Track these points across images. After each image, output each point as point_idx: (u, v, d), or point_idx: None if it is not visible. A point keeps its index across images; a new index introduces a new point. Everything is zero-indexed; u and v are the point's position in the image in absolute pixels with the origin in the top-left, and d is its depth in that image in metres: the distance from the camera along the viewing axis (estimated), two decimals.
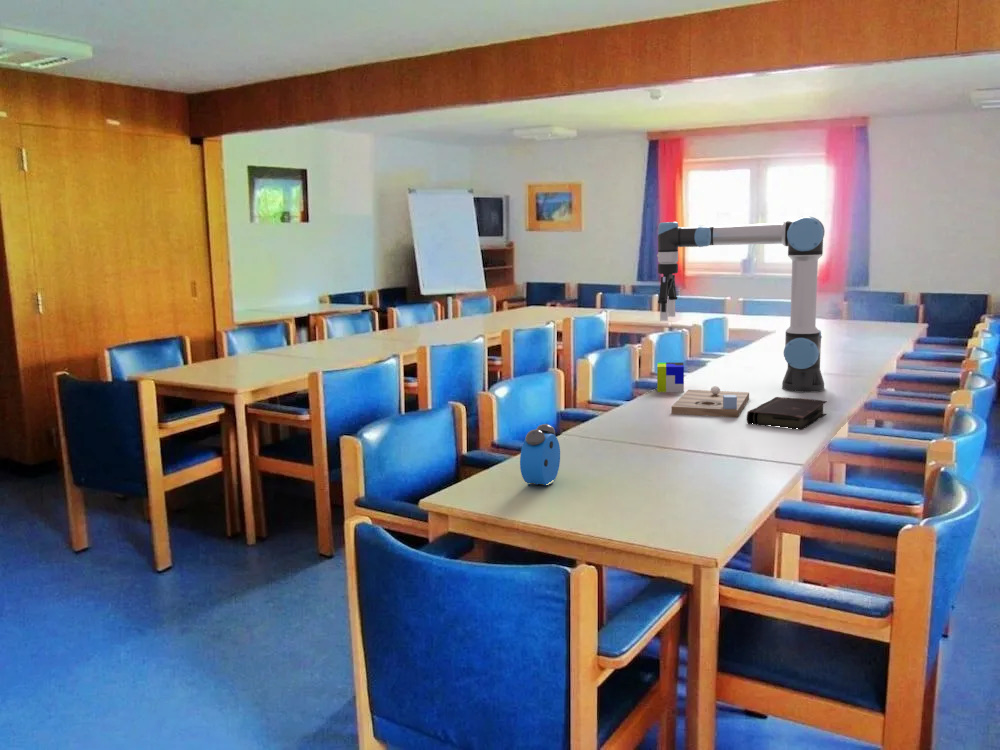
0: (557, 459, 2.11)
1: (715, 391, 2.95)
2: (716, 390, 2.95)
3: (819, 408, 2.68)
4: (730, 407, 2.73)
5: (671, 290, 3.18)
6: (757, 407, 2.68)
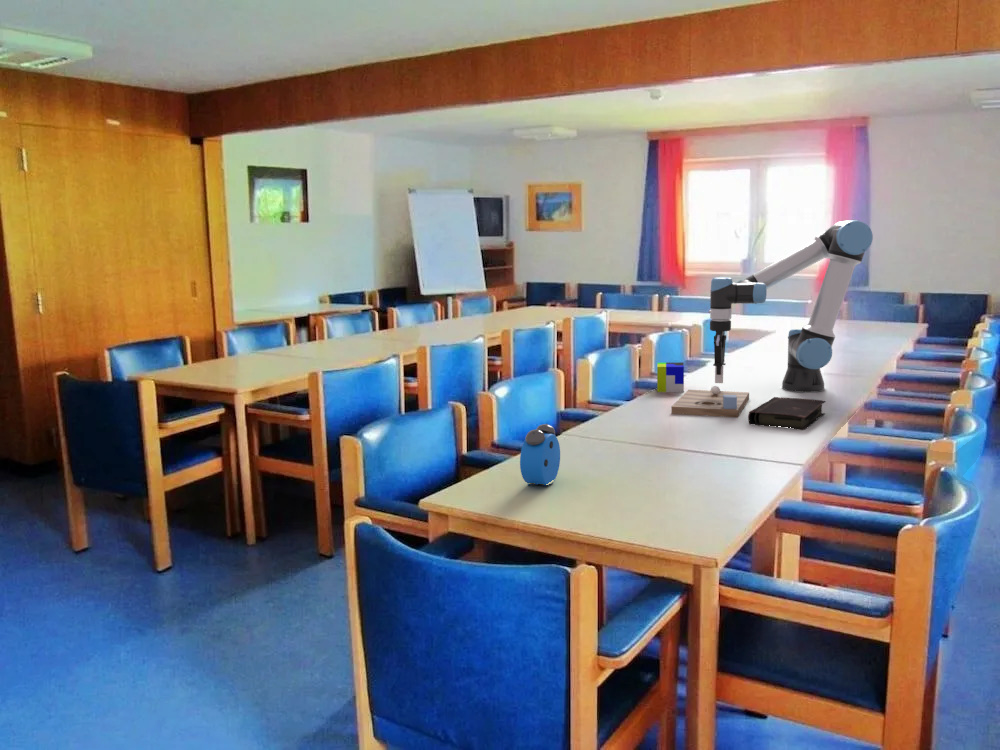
0: (557, 459, 2.11)
1: (715, 391, 2.95)
2: (716, 390, 2.95)
3: (818, 408, 2.69)
4: (730, 407, 2.73)
5: None
6: (757, 407, 2.67)
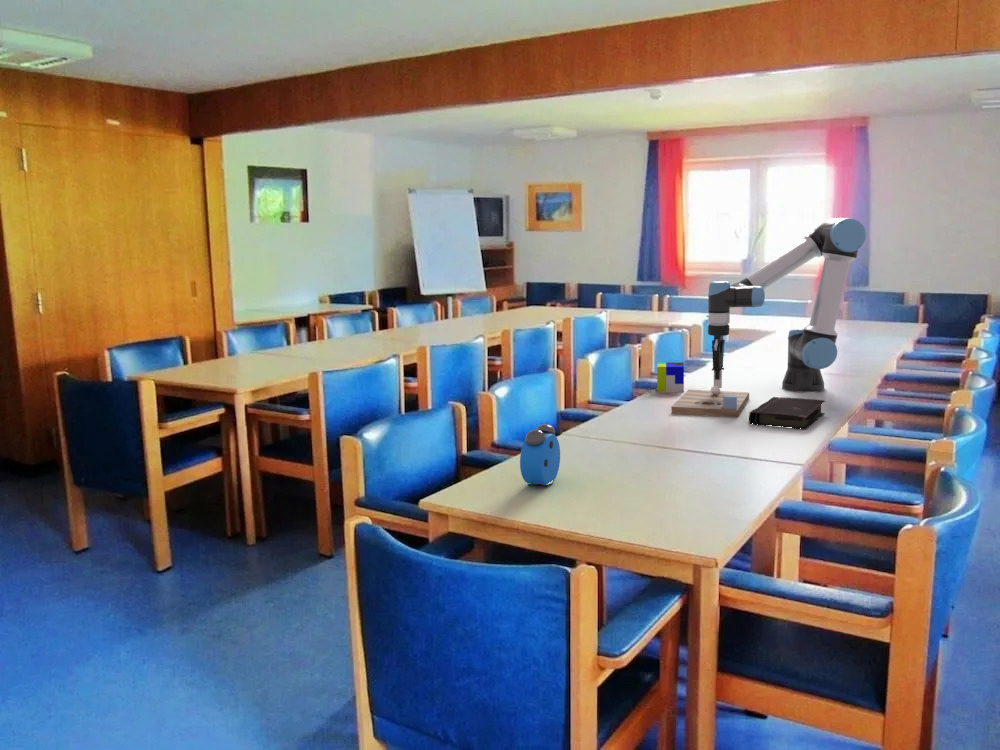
0: (557, 459, 2.11)
1: (715, 391, 2.95)
2: (716, 390, 2.95)
3: (818, 407, 2.69)
4: (730, 407, 2.73)
5: None
6: (758, 407, 2.67)
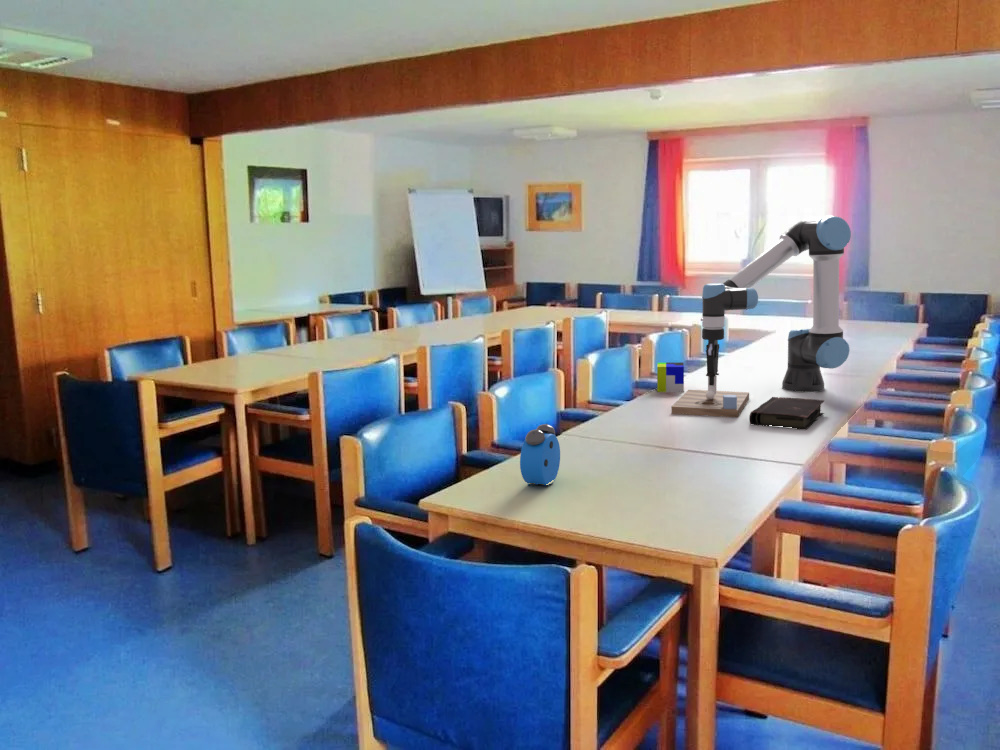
0: (557, 459, 2.11)
1: (710, 392, 2.87)
2: (711, 392, 2.87)
3: (818, 407, 2.69)
4: (730, 407, 2.73)
5: None
6: (758, 407, 2.67)
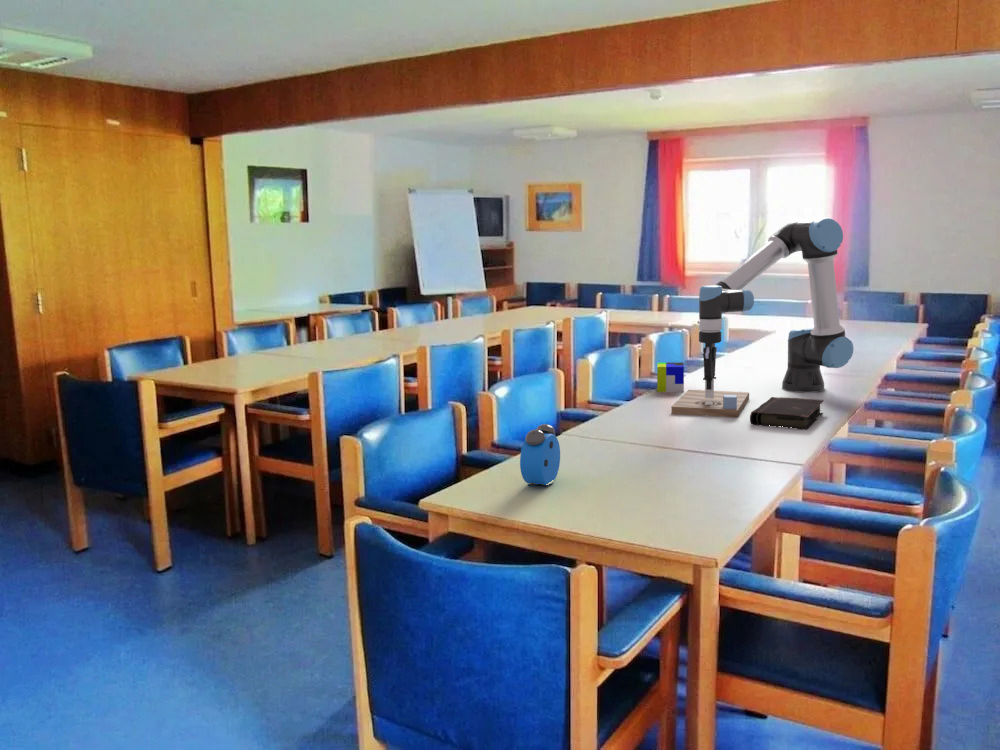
0: (557, 459, 2.11)
1: None
2: None
3: (817, 407, 2.70)
4: (730, 407, 2.73)
5: None
6: (758, 407, 2.67)
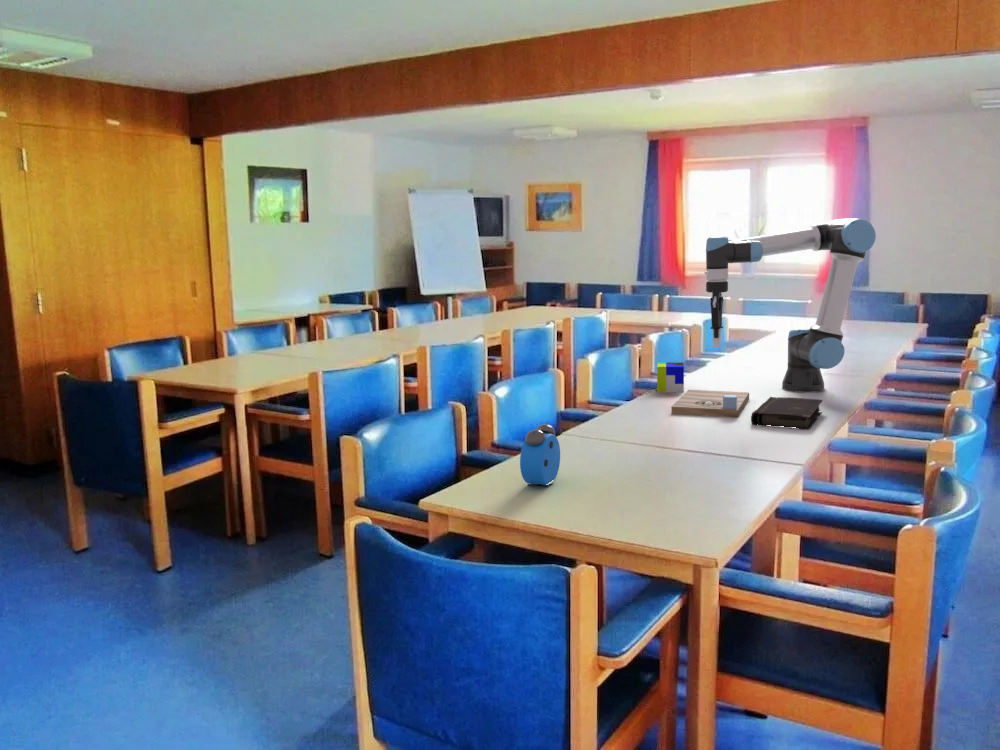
0: (557, 459, 2.11)
1: None
2: None
3: (817, 407, 2.70)
4: (730, 407, 2.73)
5: None
6: (759, 408, 2.67)
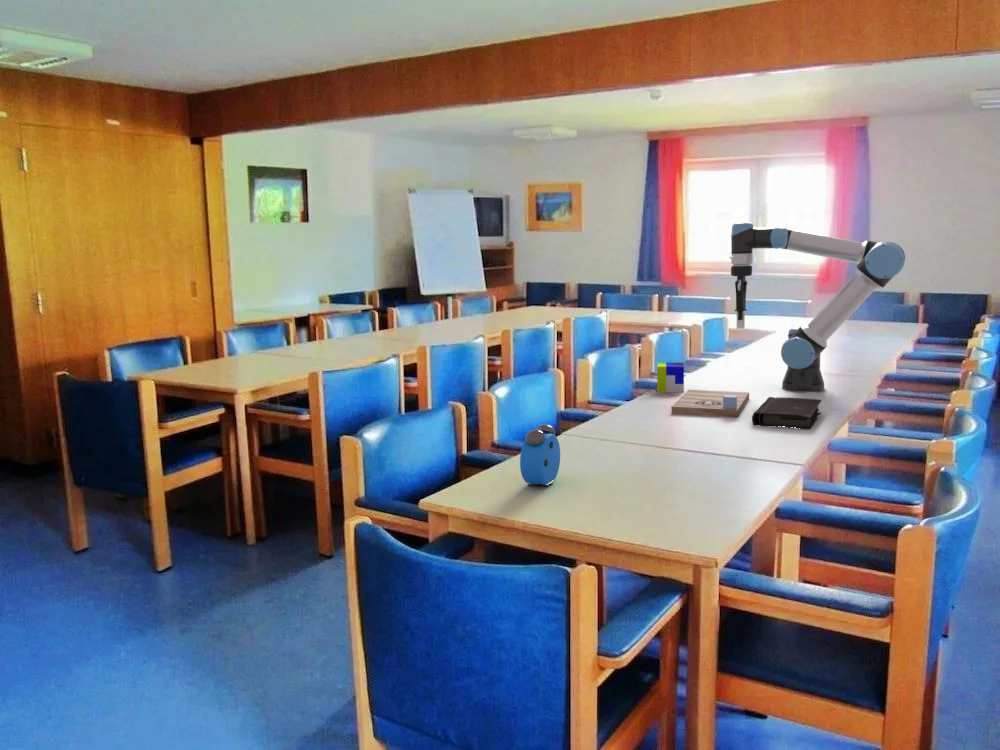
0: (557, 459, 2.11)
1: None
2: None
3: None
4: (730, 407, 2.73)
5: None
6: (759, 408, 2.66)
